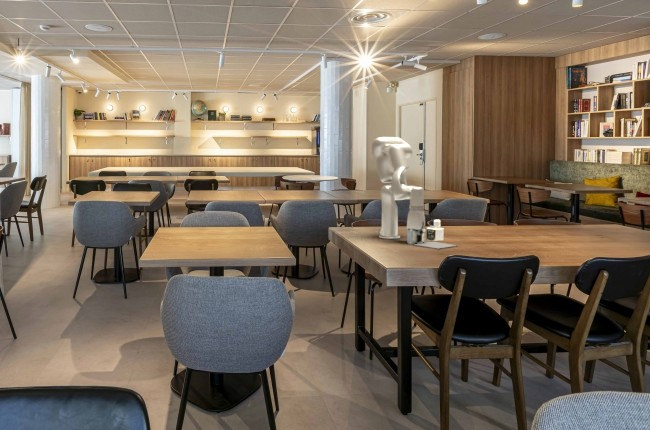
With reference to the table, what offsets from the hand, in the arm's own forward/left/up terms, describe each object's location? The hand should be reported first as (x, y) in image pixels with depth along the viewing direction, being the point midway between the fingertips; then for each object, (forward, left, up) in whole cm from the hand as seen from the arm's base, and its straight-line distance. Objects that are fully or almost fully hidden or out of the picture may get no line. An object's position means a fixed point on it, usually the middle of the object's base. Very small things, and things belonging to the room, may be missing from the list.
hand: (416, 240), depth 355 cm
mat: (+14, 0, -1) cm, 14 cm away
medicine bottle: (0, +16, -1) cm, 16 cm away
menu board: (0, 0, -1) cm, 1 cm away
